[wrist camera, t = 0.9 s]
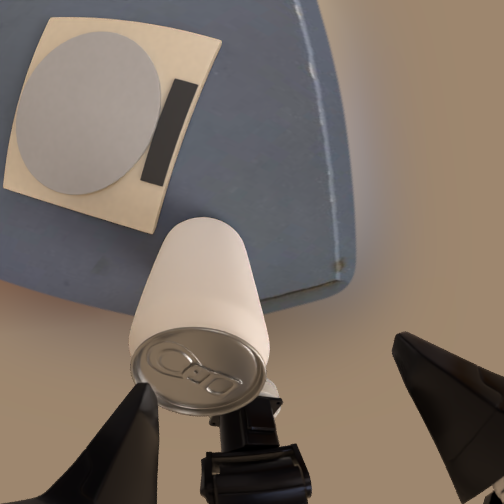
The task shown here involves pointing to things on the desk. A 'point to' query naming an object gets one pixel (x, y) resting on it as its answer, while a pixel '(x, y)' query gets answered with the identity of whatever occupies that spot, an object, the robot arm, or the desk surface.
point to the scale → (106, 116)
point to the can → (200, 323)
